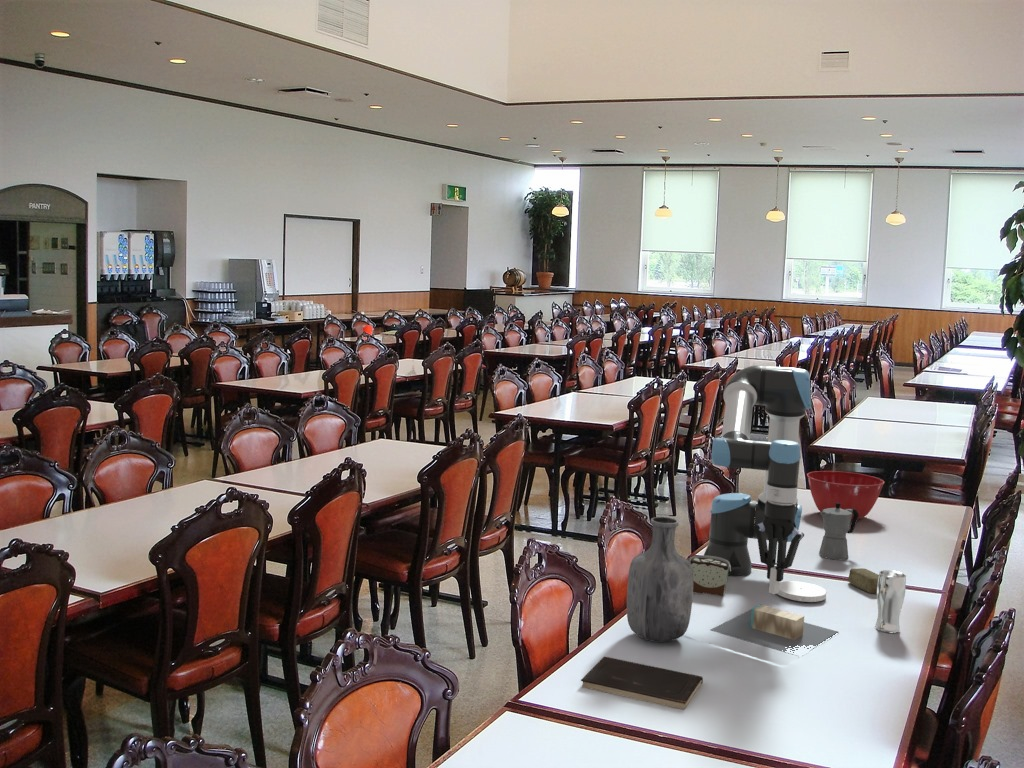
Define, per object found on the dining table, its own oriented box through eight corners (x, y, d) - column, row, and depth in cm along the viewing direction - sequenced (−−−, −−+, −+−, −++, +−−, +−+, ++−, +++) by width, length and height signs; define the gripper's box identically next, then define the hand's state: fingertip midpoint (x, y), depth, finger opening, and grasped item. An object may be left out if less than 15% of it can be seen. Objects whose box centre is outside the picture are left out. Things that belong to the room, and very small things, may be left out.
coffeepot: (827, 561, 329) (831, 507, 327) (808, 553, 338) (812, 500, 336) (864, 558, 335) (869, 504, 333) (844, 550, 344) (849, 498, 342)
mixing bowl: (792, 507, 406) (795, 468, 404) (860, 508, 409) (864, 470, 408) (821, 525, 378) (824, 484, 376) (894, 526, 381) (898, 486, 380)
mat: (709, 631, 259) (709, 629, 259) (752, 610, 278) (753, 608, 278) (798, 658, 244) (798, 656, 244) (838, 633, 263) (838, 631, 263)
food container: (733, 593, 292) (736, 559, 291) (728, 599, 286) (731, 564, 285) (691, 585, 297) (693, 552, 296) (685, 591, 291) (688, 557, 290)
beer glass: (888, 635, 263) (893, 579, 261) (867, 626, 269) (872, 571, 267) (907, 632, 266) (912, 576, 264) (886, 623, 272) (891, 568, 270)
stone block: (870, 595, 297) (872, 578, 296) (846, 583, 307) (847, 567, 307) (887, 594, 298) (888, 577, 298) (862, 582, 309) (863, 566, 309)
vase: (674, 655, 242) (682, 532, 239) (613, 640, 250) (620, 520, 247) (699, 636, 256) (707, 519, 252) (641, 622, 264) (648, 508, 261)
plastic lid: (765, 591, 296) (765, 583, 296) (804, 587, 301) (804, 579, 301) (796, 607, 283) (797, 598, 283) (836, 603, 289) (837, 594, 288)
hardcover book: (684, 712, 212) (685, 702, 212) (580, 689, 221) (581, 679, 221) (702, 685, 227) (703, 675, 226) (604, 664, 236) (604, 655, 236)
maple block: (751, 608, 262) (796, 620, 254) (760, 604, 266) (804, 616, 258) (750, 627, 262) (794, 640, 255) (759, 622, 266) (802, 635, 259)
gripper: (750, 499, 259) (743, 589, 262) (799, 509, 251) (791, 601, 253) (763, 495, 265) (757, 583, 267) (811, 504, 256) (804, 595, 259)
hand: (773, 592), depth 260 cm, fingers closed
